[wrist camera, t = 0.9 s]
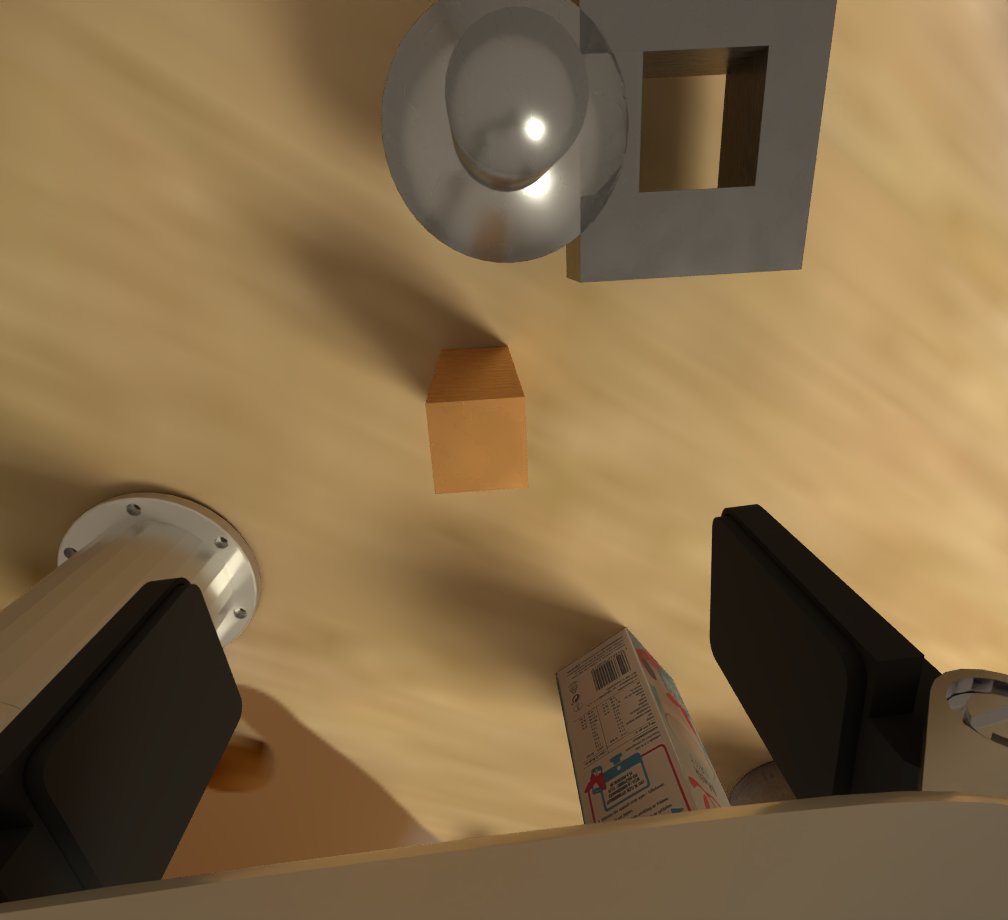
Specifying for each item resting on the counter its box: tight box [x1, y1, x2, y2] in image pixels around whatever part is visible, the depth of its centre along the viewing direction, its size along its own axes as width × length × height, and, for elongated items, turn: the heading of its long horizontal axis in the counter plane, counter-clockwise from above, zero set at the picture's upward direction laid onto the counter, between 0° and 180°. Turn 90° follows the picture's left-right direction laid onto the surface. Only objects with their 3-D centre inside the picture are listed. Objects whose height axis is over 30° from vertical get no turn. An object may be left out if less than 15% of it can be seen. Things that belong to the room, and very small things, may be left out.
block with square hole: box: [381, 0, 837, 282], centre depth 24 cm, size 12×18×14 cm, turn 93°
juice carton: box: [556, 628, 731, 824], centre depth 33 cm, size 7×7×22 cm
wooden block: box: [425, 346, 528, 494], centre depth 29 cm, size 4×4×12 cm
